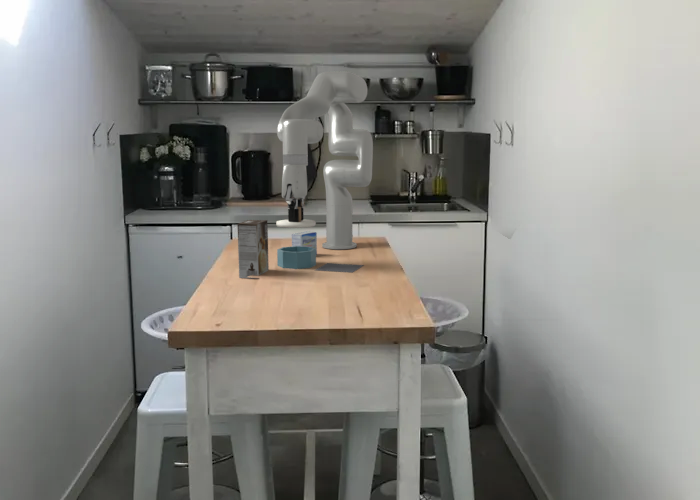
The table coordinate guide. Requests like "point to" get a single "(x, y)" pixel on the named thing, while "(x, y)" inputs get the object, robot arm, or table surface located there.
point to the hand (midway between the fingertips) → (296, 220)
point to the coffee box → (253, 248)
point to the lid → (299, 224)
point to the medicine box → (305, 239)
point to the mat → (339, 267)
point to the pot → (296, 257)
